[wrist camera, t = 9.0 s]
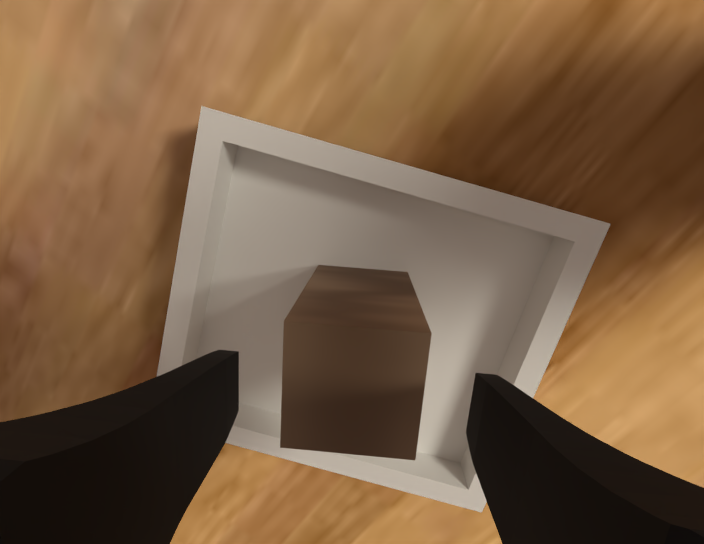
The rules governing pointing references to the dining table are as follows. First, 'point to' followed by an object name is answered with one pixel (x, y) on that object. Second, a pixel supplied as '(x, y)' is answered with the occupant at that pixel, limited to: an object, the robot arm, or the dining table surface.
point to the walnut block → (354, 364)
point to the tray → (370, 253)
